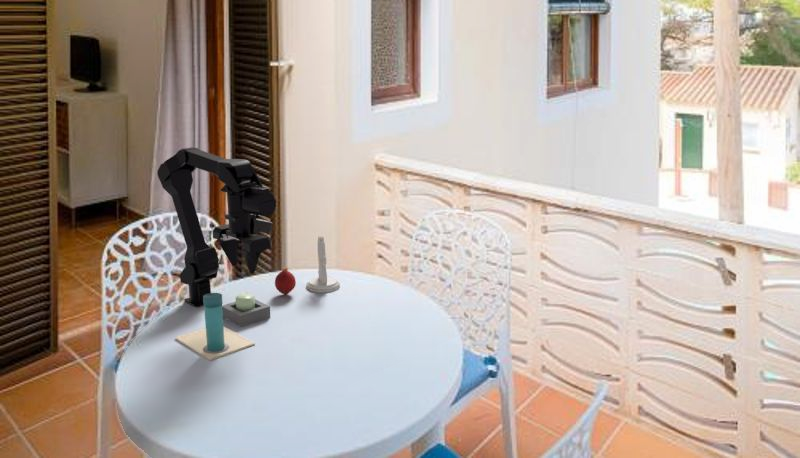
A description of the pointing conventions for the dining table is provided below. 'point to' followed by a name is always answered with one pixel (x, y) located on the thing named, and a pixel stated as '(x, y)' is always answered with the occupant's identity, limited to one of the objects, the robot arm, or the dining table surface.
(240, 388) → the dining table surface
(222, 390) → the dining table surface
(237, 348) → the sheet
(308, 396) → the dining table surface
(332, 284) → the paper towel holder
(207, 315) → the ball
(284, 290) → the onion
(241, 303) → the button
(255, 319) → the button housing
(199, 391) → the dining table surface
